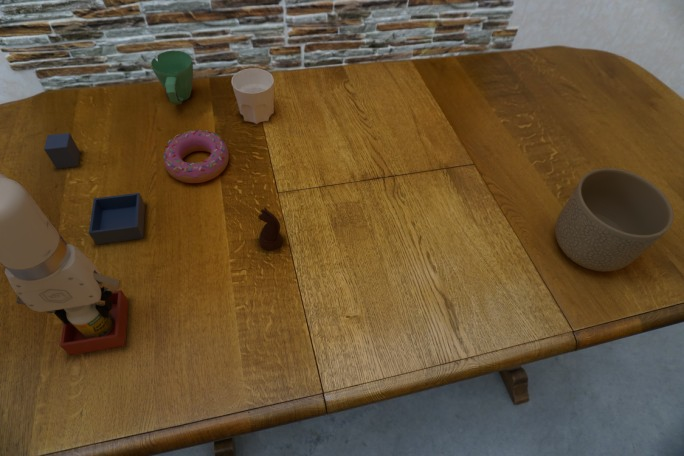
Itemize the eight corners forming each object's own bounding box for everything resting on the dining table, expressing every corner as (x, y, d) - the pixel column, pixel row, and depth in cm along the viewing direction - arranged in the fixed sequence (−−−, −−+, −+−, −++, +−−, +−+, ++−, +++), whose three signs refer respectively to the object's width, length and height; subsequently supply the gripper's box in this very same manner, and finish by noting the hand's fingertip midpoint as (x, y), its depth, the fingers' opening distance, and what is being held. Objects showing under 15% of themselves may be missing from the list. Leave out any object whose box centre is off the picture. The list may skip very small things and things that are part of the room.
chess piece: (268, 229, 96) (264, 198, 88) (288, 240, 95) (285, 209, 87) (254, 244, 94) (249, 213, 86) (274, 255, 93) (270, 225, 85)
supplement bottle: (94, 309, 83) (71, 282, 76) (121, 317, 83) (100, 291, 75) (76, 336, 80) (50, 311, 72) (103, 344, 80) (80, 320, 72)
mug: (163, 84, 124) (152, 51, 116) (200, 82, 125) (192, 49, 117) (159, 120, 115) (147, 87, 107) (199, 118, 116) (190, 84, 108)
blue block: (56, 168, 104) (43, 149, 99) (59, 154, 107) (47, 135, 102) (78, 166, 105) (66, 146, 100) (80, 152, 107) (69, 132, 103)
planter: (551, 275, 93) (587, 230, 80) (541, 211, 103) (571, 162, 90) (637, 287, 92) (686, 243, 80) (618, 221, 102) (659, 173, 90)
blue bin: (96, 244, 92) (88, 233, 89) (100, 210, 97) (93, 198, 94) (143, 238, 94) (137, 226, 90) (145, 204, 99) (139, 192, 96)
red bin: (70, 355, 79) (59, 346, 75) (76, 308, 84) (67, 298, 81) (125, 345, 80) (117, 336, 77) (128, 300, 85) (121, 289, 82)
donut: (238, 175, 105) (235, 159, 101) (176, 195, 101) (170, 179, 97) (218, 136, 113) (215, 120, 109) (160, 153, 108) (154, 137, 104)
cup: (247, 97, 122) (242, 64, 114) (282, 106, 121) (280, 73, 113) (230, 120, 116) (224, 87, 108) (267, 130, 115) (263, 97, 107)
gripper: (-41, 287, 60) (29, 342, 74) (99, 267, 62) (140, 324, 77) (-26, 240, 64) (37, 301, 79) (104, 223, 67) (142, 286, 81)
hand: (87, 312), depth 78 cm, fingers closed on supplement bottle, 5 cm apart
